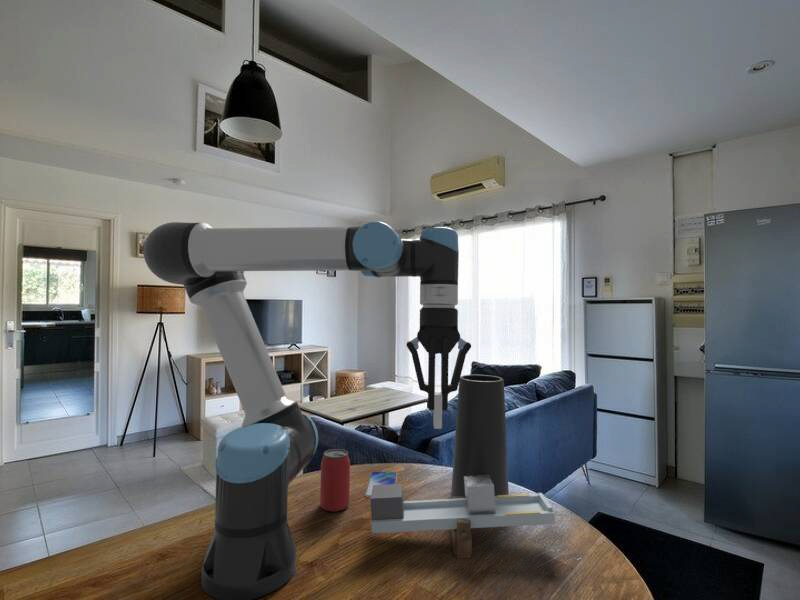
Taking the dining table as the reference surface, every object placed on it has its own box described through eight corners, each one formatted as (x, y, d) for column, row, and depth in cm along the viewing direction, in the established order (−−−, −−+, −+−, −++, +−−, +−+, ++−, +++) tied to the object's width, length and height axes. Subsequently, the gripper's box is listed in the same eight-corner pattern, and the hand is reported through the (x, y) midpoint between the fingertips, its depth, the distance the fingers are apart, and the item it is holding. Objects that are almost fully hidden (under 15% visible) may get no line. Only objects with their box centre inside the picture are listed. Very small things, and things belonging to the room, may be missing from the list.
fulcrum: (455, 559, 74) (455, 524, 74) (449, 525, 86) (449, 494, 86) (473, 560, 74) (473, 524, 74) (464, 526, 86) (464, 495, 86)
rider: (469, 518, 78) (467, 486, 78) (465, 506, 83) (463, 476, 83) (496, 517, 78) (493, 485, 78) (490, 505, 83) (488, 474, 83)
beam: (371, 533, 77) (369, 500, 77) (375, 512, 84) (373, 483, 85) (554, 523, 76) (552, 491, 76) (541, 503, 84) (539, 474, 84)
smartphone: (364, 496, 98) (371, 471, 113) (364, 499, 98) (371, 474, 113) (394, 496, 98) (397, 471, 113) (394, 500, 98) (397, 474, 113)
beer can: (343, 514, 90) (344, 459, 90) (315, 511, 91) (316, 456, 91) (352, 500, 96) (354, 449, 97) (326, 497, 98) (327, 447, 98)
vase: (499, 518, 90) (501, 385, 90) (442, 502, 96) (444, 378, 97) (515, 494, 101) (516, 376, 102) (463, 481, 108) (465, 371, 109)
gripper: (405, 306, 78) (404, 431, 77) (474, 307, 77) (473, 433, 77) (406, 306, 85) (404, 420, 85) (469, 307, 85) (468, 422, 84)
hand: (437, 426), depth 81 cm, fingers closed
